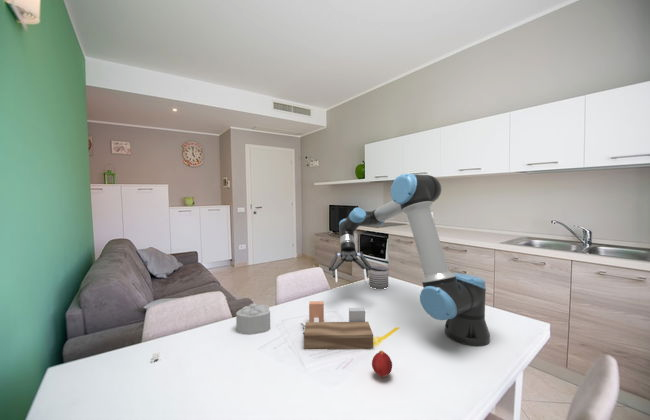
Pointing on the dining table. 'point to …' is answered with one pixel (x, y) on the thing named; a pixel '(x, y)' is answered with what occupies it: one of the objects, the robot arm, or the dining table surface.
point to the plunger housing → (338, 335)
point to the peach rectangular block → (316, 311)
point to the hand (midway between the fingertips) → (351, 283)
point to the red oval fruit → (382, 364)
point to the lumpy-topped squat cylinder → (253, 319)
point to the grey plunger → (356, 315)
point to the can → (378, 277)
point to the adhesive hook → (155, 357)
